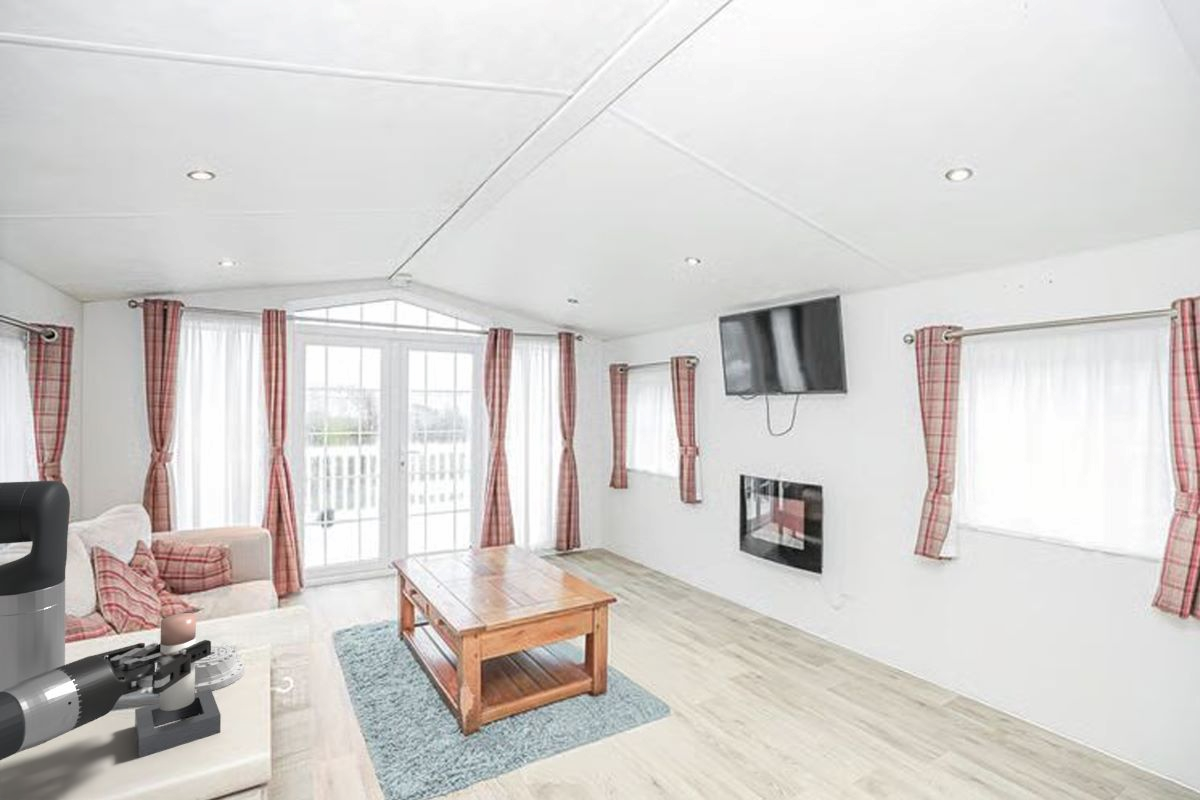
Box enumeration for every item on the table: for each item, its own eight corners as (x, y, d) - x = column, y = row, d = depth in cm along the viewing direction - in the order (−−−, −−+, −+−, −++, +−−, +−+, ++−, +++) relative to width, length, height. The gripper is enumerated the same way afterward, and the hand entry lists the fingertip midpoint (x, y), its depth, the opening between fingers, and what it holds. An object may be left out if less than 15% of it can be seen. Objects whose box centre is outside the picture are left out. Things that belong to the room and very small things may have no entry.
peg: (158, 701, 82) (159, 617, 82) (192, 692, 85) (193, 610, 85) (160, 714, 79) (162, 626, 79) (196, 704, 82) (197, 619, 82)
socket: (135, 726, 83) (135, 709, 83) (210, 704, 89) (210, 688, 89) (138, 757, 76) (139, 738, 76) (220, 732, 82) (220, 714, 82)
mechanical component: (156, 691, 93) (209, 699, 91) (156, 664, 92) (209, 671, 91) (209, 662, 102) (258, 669, 100) (209, 637, 102) (258, 644, 100)
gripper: (95, 681, 66) (234, 625, 82) (17, 660, 71) (163, 611, 87) (94, 747, 66) (233, 678, 82) (17, 722, 71) (163, 661, 87)
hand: (197, 644), depth 84 cm, fingers closed on peg, 4 cm apart
